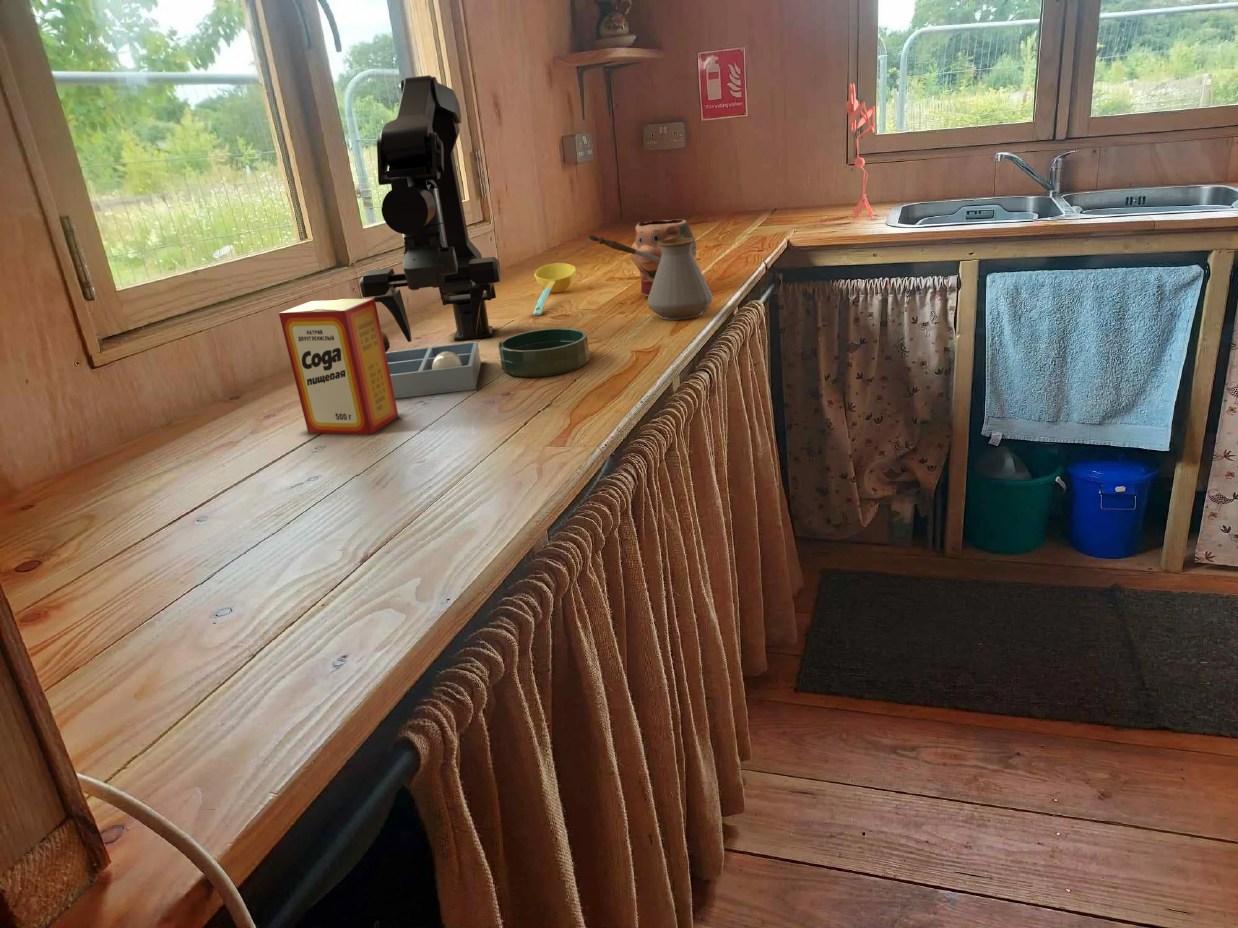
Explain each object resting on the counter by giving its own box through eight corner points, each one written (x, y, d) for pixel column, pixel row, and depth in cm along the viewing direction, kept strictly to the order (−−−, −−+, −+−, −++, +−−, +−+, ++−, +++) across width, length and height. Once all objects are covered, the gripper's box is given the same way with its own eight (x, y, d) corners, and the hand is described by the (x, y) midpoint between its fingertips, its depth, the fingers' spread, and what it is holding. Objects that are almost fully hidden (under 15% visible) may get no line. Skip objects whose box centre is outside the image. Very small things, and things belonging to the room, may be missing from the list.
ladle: (580, 281, 189) (578, 256, 186) (562, 338, 167) (559, 311, 164) (540, 283, 190) (537, 258, 187) (517, 339, 169) (513, 312, 165)
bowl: (504, 359, 137) (500, 334, 136) (587, 349, 138) (584, 324, 136) (501, 382, 125) (497, 355, 124) (592, 371, 126) (589, 344, 124)
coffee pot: (715, 305, 158) (710, 220, 152) (711, 320, 148) (706, 230, 142) (600, 313, 162) (591, 230, 156) (588, 328, 151) (578, 240, 146)
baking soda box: (308, 432, 112) (277, 310, 106) (337, 415, 118) (310, 298, 112) (371, 433, 109) (344, 307, 103) (398, 416, 115) (374, 295, 109)
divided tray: (387, 373, 136) (383, 352, 135) (481, 362, 137) (477, 341, 136) (371, 401, 123) (366, 378, 121) (475, 389, 123) (471, 365, 122)
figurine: (876, 211, 254) (878, 80, 240) (876, 224, 231) (878, 80, 218) (822, 214, 258) (821, 86, 245) (817, 227, 235) (815, 86, 222)
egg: (437, 378, 129) (431, 350, 127) (465, 373, 129) (459, 346, 127) (433, 388, 124) (427, 360, 122) (463, 383, 124) (457, 355, 122)
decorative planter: (653, 282, 185) (647, 215, 179) (709, 280, 181) (705, 211, 175) (623, 304, 167) (616, 229, 162) (685, 302, 163) (680, 226, 158)
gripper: (341, 240, 110) (366, 359, 116) (488, 224, 111) (506, 343, 117) (357, 230, 120) (380, 340, 126) (492, 215, 121) (508, 325, 127)
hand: (442, 337), depth 124 cm, fingers open, 9 cm apart
